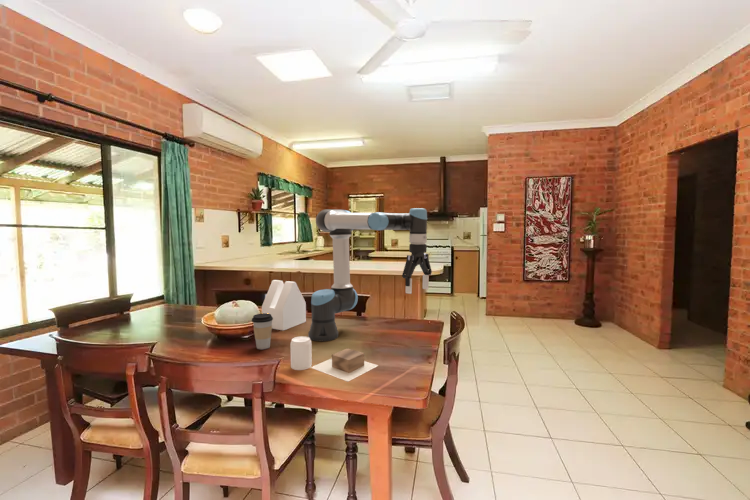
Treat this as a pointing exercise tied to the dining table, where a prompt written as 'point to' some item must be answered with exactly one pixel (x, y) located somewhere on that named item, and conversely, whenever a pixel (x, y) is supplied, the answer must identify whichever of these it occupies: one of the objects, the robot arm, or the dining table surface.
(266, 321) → the coffee cup
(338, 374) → the build board
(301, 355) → the beverage can
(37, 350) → the dining table surface
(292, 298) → the white slotted holder
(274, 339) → the dining table surface
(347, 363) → the walnut block
